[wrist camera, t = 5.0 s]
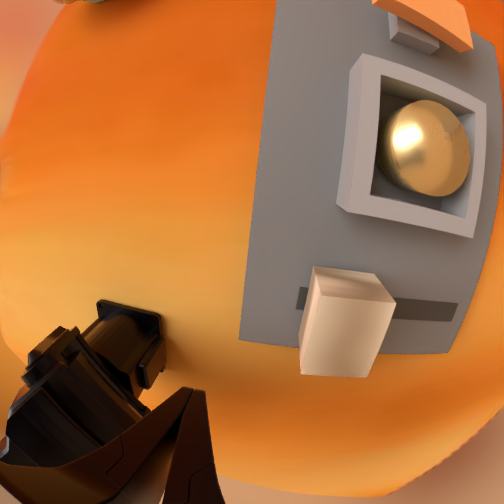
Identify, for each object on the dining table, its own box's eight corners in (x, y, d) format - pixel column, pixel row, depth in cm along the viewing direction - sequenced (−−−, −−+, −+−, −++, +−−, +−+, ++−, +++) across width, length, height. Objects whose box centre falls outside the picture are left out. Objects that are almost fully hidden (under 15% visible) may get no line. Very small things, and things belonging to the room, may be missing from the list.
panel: (242, 325, 21) (231, 366, 16) (280, -15, 12) (278, -54, 8) (439, 340, 20) (462, 373, 15) (482, 50, 11) (513, 37, 6)
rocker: (372, 4, 9) (384, -6, 7) (367, -35, 7) (377, -45, 6) (459, 52, 10) (473, 49, 8) (452, 11, 8) (464, 6, 7)
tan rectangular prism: (298, 334, 18) (300, 374, 14) (313, 265, 16) (321, 295, 12) (353, 339, 17) (366, 377, 14) (374, 273, 16) (396, 303, 12)
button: (369, 181, 14) (388, 184, 11) (377, 100, 13) (396, 87, 10) (438, 197, 14) (464, 205, 11) (445, 123, 12) (472, 118, 10)
